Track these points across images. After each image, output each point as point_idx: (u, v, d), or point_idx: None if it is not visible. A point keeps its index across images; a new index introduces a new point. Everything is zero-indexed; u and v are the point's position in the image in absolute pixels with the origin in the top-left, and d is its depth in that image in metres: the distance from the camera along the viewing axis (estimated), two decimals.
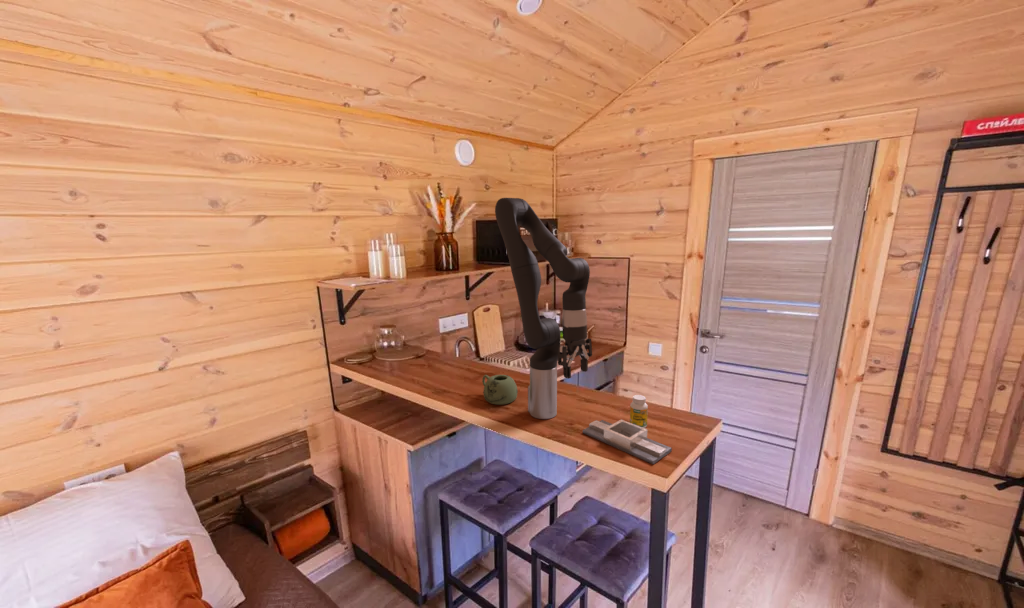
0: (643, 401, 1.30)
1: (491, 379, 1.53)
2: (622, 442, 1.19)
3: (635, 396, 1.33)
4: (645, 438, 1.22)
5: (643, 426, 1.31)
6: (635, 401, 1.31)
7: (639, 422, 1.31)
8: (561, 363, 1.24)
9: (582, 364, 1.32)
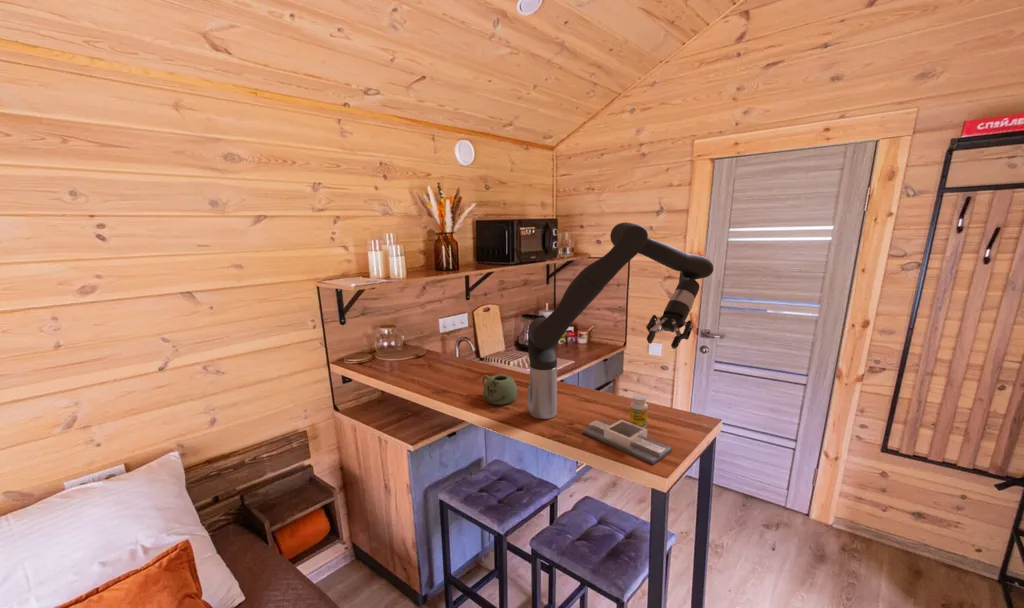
0: (643, 401, 1.30)
1: (491, 379, 1.53)
2: (622, 442, 1.19)
3: (635, 396, 1.33)
4: (645, 438, 1.22)
5: (643, 426, 1.31)
6: (635, 401, 1.31)
7: (639, 422, 1.31)
8: (687, 336, 1.33)
9: (652, 336, 1.40)
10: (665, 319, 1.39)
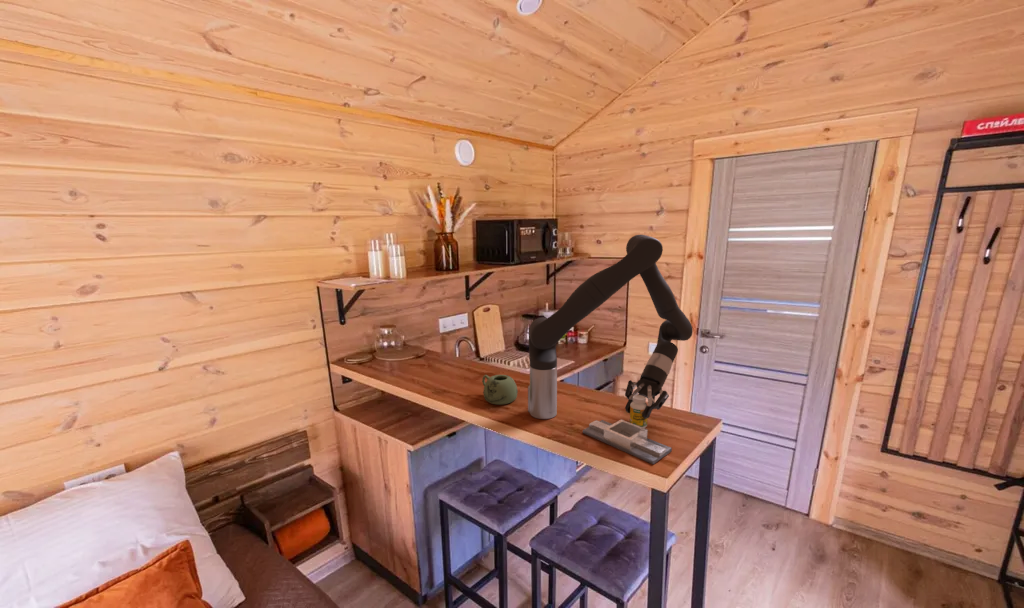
0: (643, 401, 1.30)
1: (491, 379, 1.53)
2: (622, 442, 1.19)
3: (635, 396, 1.33)
4: (645, 438, 1.22)
5: (643, 426, 1.31)
6: (635, 401, 1.31)
7: (639, 422, 1.31)
8: (658, 406, 1.29)
9: None
10: (642, 385, 1.35)
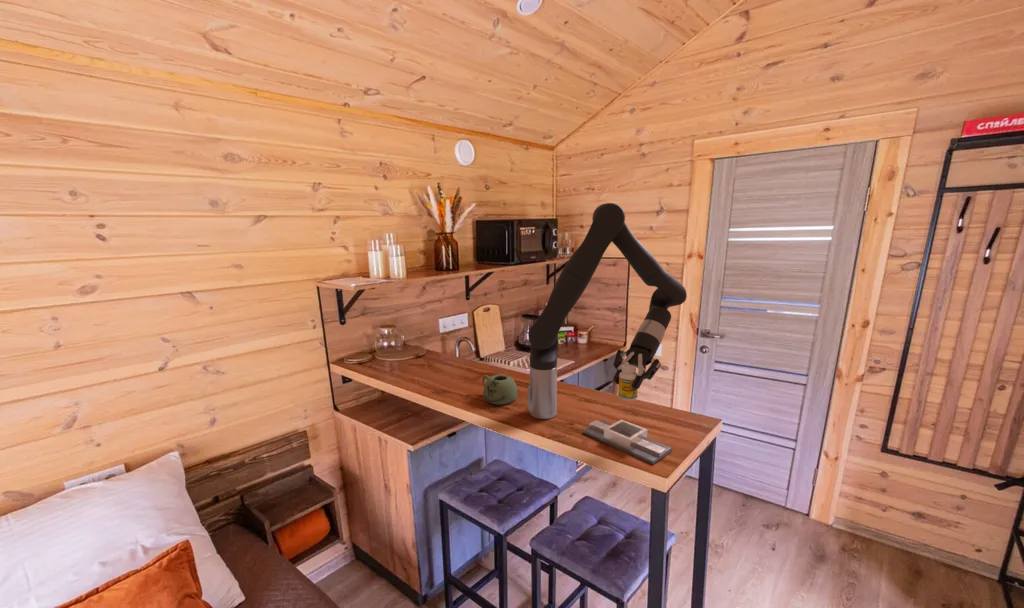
0: (633, 370, 1.19)
1: (491, 379, 1.53)
2: (622, 442, 1.19)
3: (624, 365, 1.21)
4: (645, 438, 1.22)
5: (633, 398, 1.20)
6: (624, 370, 1.19)
7: (629, 393, 1.19)
8: (650, 376, 1.18)
9: None
10: (632, 354, 1.23)
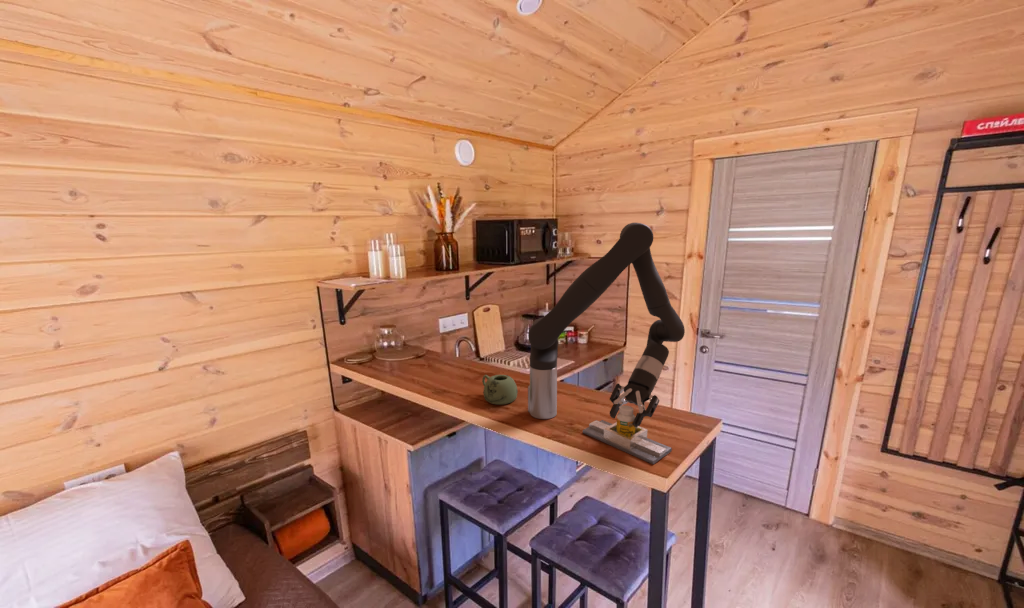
0: (630, 412, 1.20)
1: (491, 379, 1.53)
2: (622, 442, 1.19)
3: (622, 407, 1.23)
4: (645, 438, 1.22)
5: None
6: (622, 412, 1.21)
7: (627, 435, 1.21)
8: (650, 413, 1.18)
9: (615, 410, 1.25)
10: (629, 390, 1.24)
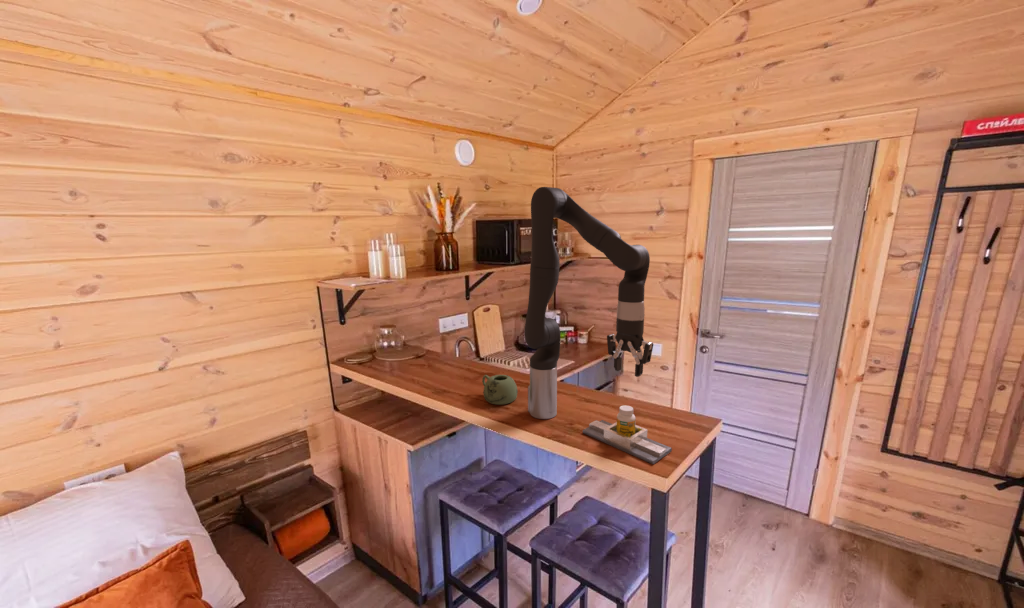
0: (630, 412, 1.20)
1: (491, 379, 1.53)
2: (622, 442, 1.19)
3: (622, 407, 1.23)
4: (645, 438, 1.22)
5: None
6: (622, 412, 1.21)
7: (627, 435, 1.21)
8: (647, 361, 1.15)
9: (618, 363, 1.21)
10: (621, 342, 1.18)
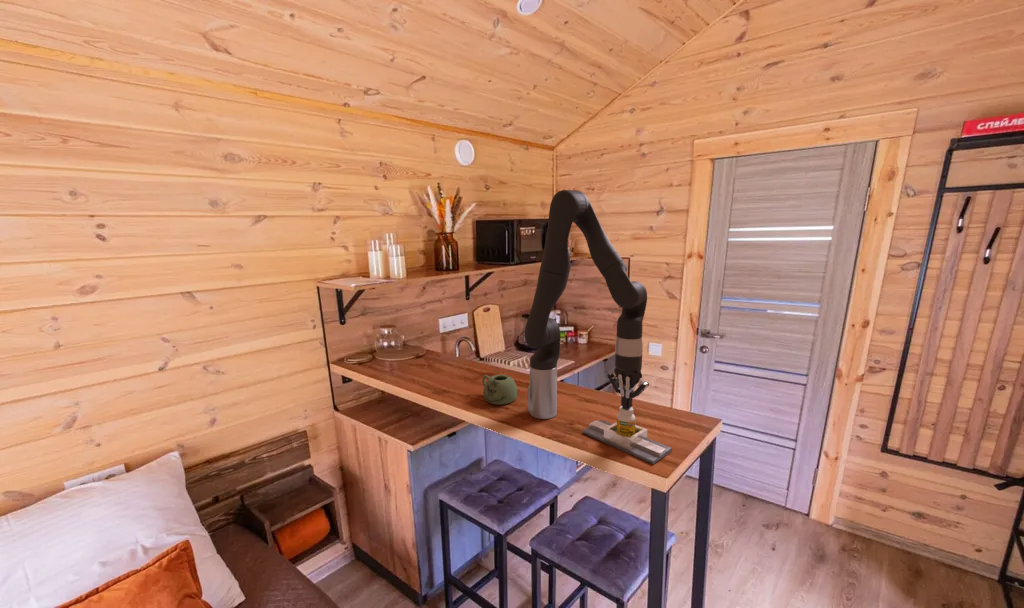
0: (630, 412, 1.20)
1: (491, 379, 1.53)
2: (622, 442, 1.19)
3: None
4: (645, 438, 1.22)
5: None
6: (622, 412, 1.21)
7: (627, 435, 1.21)
8: (636, 395, 1.19)
9: None
10: (620, 376, 1.20)
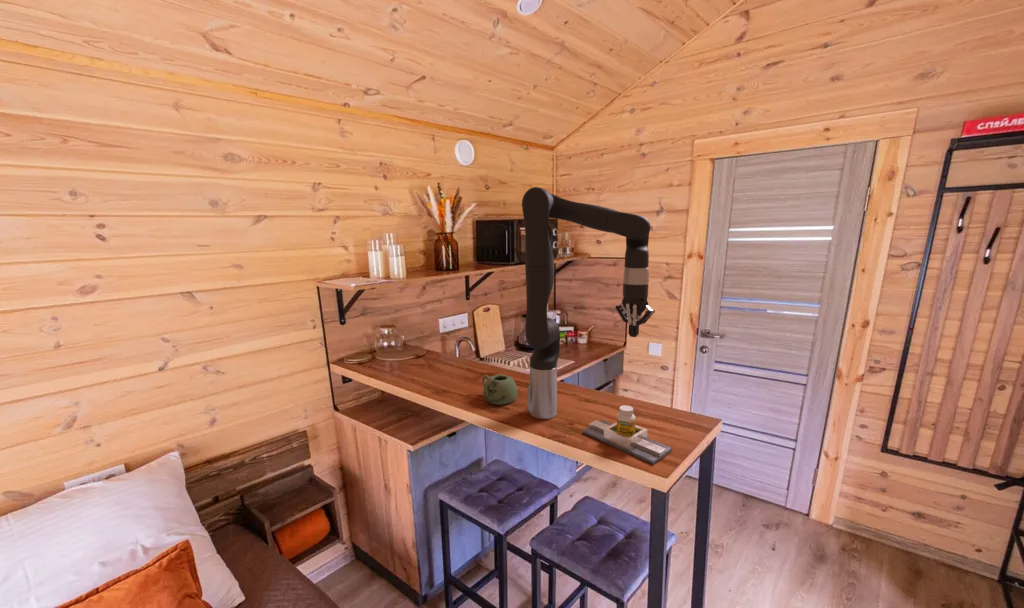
0: (630, 412, 1.20)
1: (491, 379, 1.53)
2: (622, 442, 1.19)
3: (622, 407, 1.23)
4: (645, 438, 1.22)
5: None
6: (622, 412, 1.21)
7: (627, 435, 1.21)
8: (643, 323, 1.28)
9: None
10: (627, 306, 1.28)
